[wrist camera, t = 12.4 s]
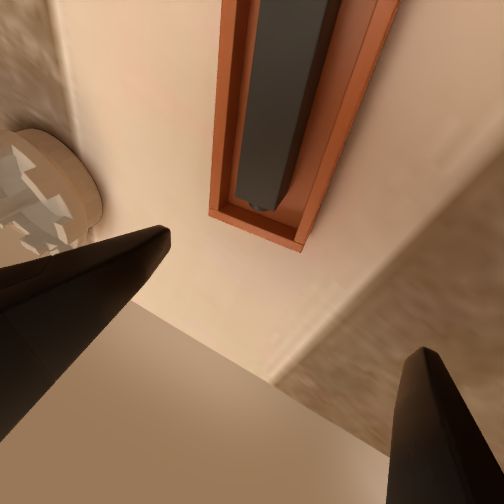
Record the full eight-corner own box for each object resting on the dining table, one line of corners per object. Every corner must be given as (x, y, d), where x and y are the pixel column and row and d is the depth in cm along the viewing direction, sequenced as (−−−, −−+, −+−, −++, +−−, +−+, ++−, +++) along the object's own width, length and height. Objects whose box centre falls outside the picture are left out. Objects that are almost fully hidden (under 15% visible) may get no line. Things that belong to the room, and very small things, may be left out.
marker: (285, 202, 20) (271, 222, 18) (249, 189, 20) (232, 207, 18) (380, -135, 10) (373, -174, 8) (306, -143, 10) (283, -181, 8)
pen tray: (267, -272, 10) (241, -326, 8) (505, -267, 8) (527, -332, 7) (221, 203, 23) (208, 216, 21) (308, 237, 21) (300, 253, 20)
